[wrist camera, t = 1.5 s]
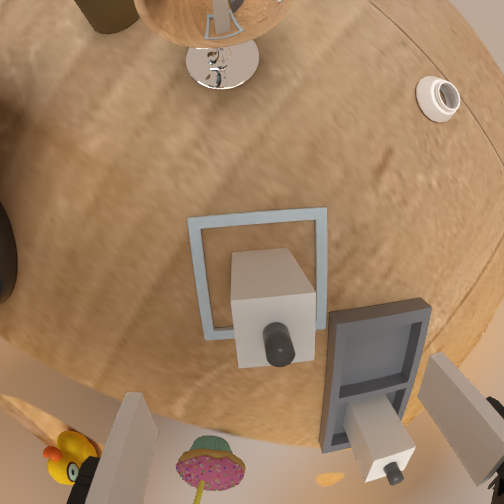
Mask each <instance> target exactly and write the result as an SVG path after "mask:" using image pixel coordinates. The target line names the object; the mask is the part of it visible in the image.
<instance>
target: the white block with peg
mask: <svg viewBox="0 0 504 504" xmlns="http://www.w3.org/2000/svg"><path fill="white" fill-rule="evenodd" d="M231 309H232V318H233V326H234V335H235V343H236V351H237V359H238V367H239V368H251V367H262V366H275V367H283V366H286V365H288V364H290V363H298V362H305V361H312V360H314V354H315V322H316V292H315V290H314V288H313V287H312V285H311V283H310V282H309V280H308V279H307V277H306V275H305V274H304V272H303V271H302V269H301V267H300V266H299V264H298V263H297V261H296V260H295V258H294V256H293V255H292V253H291V252H290V250H289V248H278V249H266V250H255V251H243V252H232V269H231Z"/></svg>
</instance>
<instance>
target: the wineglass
mask: <svg viewBox="0 0 504 504" xmlns="http://www.w3.org/2000/svg"><path fill="white" fill-rule="evenodd" d="M132 1H133V5H134V7H135V10H136V12H137V14H138V16H139V17H140V19H141V20H142V22H143V23H144V24H145V25H146V26H147V27H148V28H149V29H150V30H151V31H152V32H154V33H155V34H156V35H158V36H159V37H161V38H163V39H165V40H167V41H169V42H172V43H174V44H177V45H181V46H185V47H189V48H188V51H187V54H186V66H187V70H188V72H189V74H190V75H191V77H192V78H193V79H194V80H195V81H196V82H198V83H199V84H201V85H203V86H205V87H207V88H211V89H217V90H224V89H231V88H234V87H237V86H239V85H241V84H243V83H245V82H246V81H247V80H248V79H250V78H251V77H252V75H253V74H254V73H255V71H256V69H257V67H258V63H259V51H258V48H257V45H256V44H255V42H254V41H253V39H255V38H257V37H259V36H261V35H263V34H264V33H266V32H267V31H269V30H270V29H272V28H273V27H274V26H275V25H276V24H278V23H279V22H280V21H281V19H282V18H283V17H284V16H285V15H286V13H287V12H288V10H289V9H290V7H291V5H292V3H293V1H294V0H132Z"/></svg>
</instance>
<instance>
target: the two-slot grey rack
mask: <svg viewBox="0 0 504 504" xmlns="http://www.w3.org/2000/svg"><path fill="white" fill-rule="evenodd" d="M431 310H432V307H431V306H430V305H429V304H428V303H426V302H425V301H424V300H423V299H421V298H416V299H410V300H405V301H399V302H393V303H388V304H382V305H375V306H369V307H363V308H356V309H349V310H342V311H335V312H329V333H328V350H327V365H326V377H325V389H324V399H323V409H322V418H321V426H320V435H319V443H320V447H321V450H322V453H328V452H333V451H337V450H342V449H347V448H351V445H350V442H349V439H348V437H347V434H346V432H345V429H344V427H343V422H344V417H345V412H346V406H347V403H348V402H352V401H357V400H361V399H366V398H370V397H374V396H378V395H382V394H385V395H386V397H387V398H388V400H389V402H390V403H391V405H392V407H393V408H394V410H395V412H396V413H397V415H398V417H399V419H400V420H402V417H403V415H404V412H405V409H406V406H407V403H408V400H409V397H410V394H411V391H412V387H413V384H414V381H415V377H416V374H417V370H418V367H419V363H420V359H421V355H422V351H423V347H424V343H425V339H426V334H427V330H428V325H429V320H430V315H431Z"/></svg>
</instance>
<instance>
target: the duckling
mask: <svg viewBox="0 0 504 504" xmlns="http://www.w3.org/2000/svg"><path fill="white" fill-rule="evenodd" d="M43 456H44V457H45V458H48V457H50V458H49V460H48V465H47V466H48V471H49V473H50V475H51V476H52V477H53V479H55V480H56V481H57V482H59V483H61V484H65V485H74V484H75V479H76V477H77V476H78V472H79V469H80V467H81V464H82V463H83V462H84V461H85V460H86V459H87V458H88V457H89V456H94V457H97V453H96V450H95V448H94V446H93V445H92V444H91V443H90V442H89V441H88V439H87V438H86V437H85V436H84V435H83V434H81V433H78V432H74V431H64V432H62V433H61V434H60V435H59V436H58V438H57V448H56V447H53V446H48V447H46V448H45V449H44V451H43Z"/></svg>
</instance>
